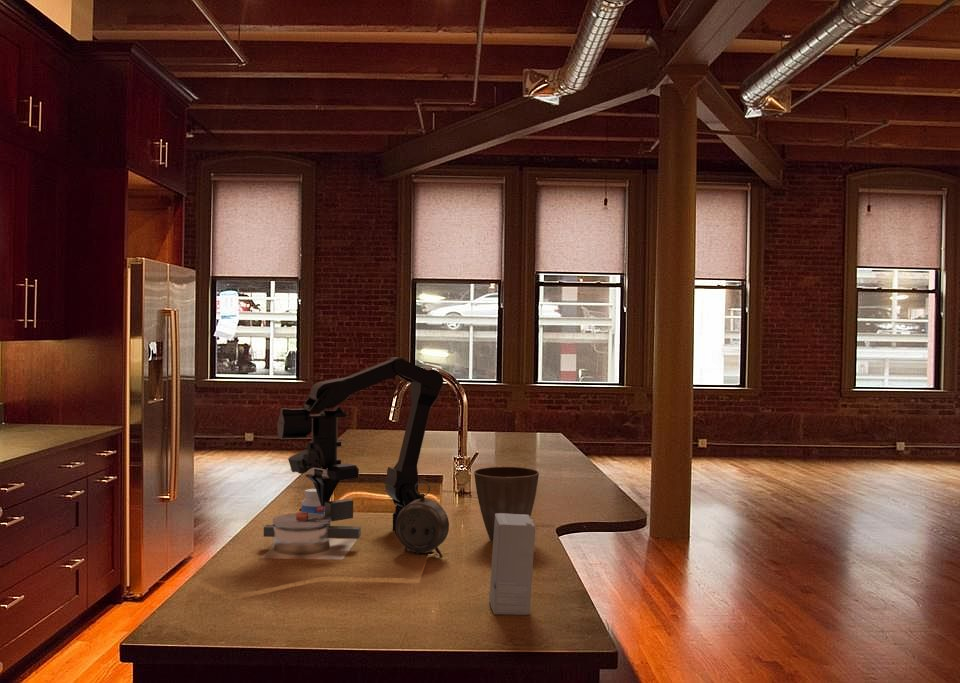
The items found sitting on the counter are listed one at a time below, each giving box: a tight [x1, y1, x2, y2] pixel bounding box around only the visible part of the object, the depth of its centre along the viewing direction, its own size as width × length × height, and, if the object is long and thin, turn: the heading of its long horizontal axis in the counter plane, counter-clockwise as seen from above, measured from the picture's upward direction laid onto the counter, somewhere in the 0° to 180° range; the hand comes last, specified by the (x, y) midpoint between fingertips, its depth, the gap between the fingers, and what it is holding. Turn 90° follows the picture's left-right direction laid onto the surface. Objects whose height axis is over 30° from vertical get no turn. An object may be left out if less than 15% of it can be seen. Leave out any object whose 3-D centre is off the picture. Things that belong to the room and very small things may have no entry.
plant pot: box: [473, 466, 540, 543], centre depth 204 cm, size 15×15×16 cm
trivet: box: [260, 538, 358, 561], centre depth 192 cm, size 17×18×1 cm
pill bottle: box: [300, 488, 325, 515], centre depth 212 cm, size 6×5×10 cm
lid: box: [272, 498, 354, 530], centre depth 194 cm, size 19×12×4 cm, turn 133°
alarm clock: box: [395, 480, 450, 558], centre depth 189 cm, size 11×5×16 cm, turn 73°
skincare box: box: [488, 513, 536, 616], centre depth 154 cm, size 8×7×16 cm
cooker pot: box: [263, 524, 362, 555], centre depth 192 cm, size 20×12×5 cm, turn 88°
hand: (323, 505), depth 202 cm, fingers closed
